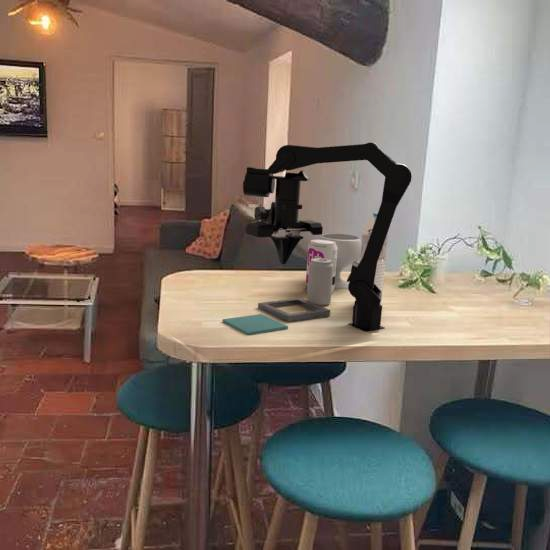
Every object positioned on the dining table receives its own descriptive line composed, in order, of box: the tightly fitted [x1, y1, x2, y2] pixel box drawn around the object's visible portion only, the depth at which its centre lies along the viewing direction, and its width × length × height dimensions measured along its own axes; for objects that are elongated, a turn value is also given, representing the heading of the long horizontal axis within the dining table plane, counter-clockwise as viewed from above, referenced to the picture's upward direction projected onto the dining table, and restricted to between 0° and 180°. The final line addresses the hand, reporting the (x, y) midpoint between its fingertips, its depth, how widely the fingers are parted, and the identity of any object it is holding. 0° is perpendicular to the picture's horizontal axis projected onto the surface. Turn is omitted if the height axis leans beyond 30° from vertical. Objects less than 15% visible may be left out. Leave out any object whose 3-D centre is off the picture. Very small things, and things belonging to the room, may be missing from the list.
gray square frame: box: [257, 297, 331, 323], centre depth 158 cm, size 13×13×2 cm
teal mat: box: [222, 313, 289, 336], centre depth 145 cm, size 11×11×1 cm
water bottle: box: [358, 212, 389, 305], centre depth 166 cm, size 7×7×25 cm
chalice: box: [318, 233, 362, 289], centre depth 188 cm, size 14×14×15 cm
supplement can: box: [304, 238, 337, 295], centre depth 177 cm, size 8×8×15 cm
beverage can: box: [306, 258, 333, 307], centre depth 166 cm, size 6×6×12 cm
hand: (282, 264), depth 151 cm, fingers closed
